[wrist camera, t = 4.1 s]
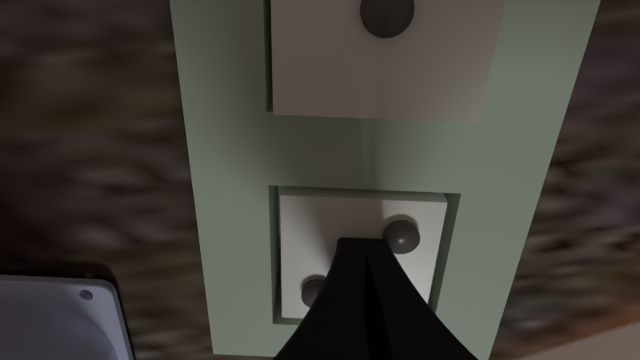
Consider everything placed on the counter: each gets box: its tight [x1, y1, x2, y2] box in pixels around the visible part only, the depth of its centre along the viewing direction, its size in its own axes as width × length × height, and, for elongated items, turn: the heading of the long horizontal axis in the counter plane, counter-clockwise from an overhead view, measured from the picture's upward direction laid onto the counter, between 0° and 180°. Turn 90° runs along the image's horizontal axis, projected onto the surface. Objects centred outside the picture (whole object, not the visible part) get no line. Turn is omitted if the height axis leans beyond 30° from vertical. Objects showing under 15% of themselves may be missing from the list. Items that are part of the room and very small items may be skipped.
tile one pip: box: [271, 0, 505, 123], centre depth 9 cm, size 4×4×2 cm
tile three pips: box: [280, 186, 448, 318], centre depth 13 cm, size 4×4×2 cm
